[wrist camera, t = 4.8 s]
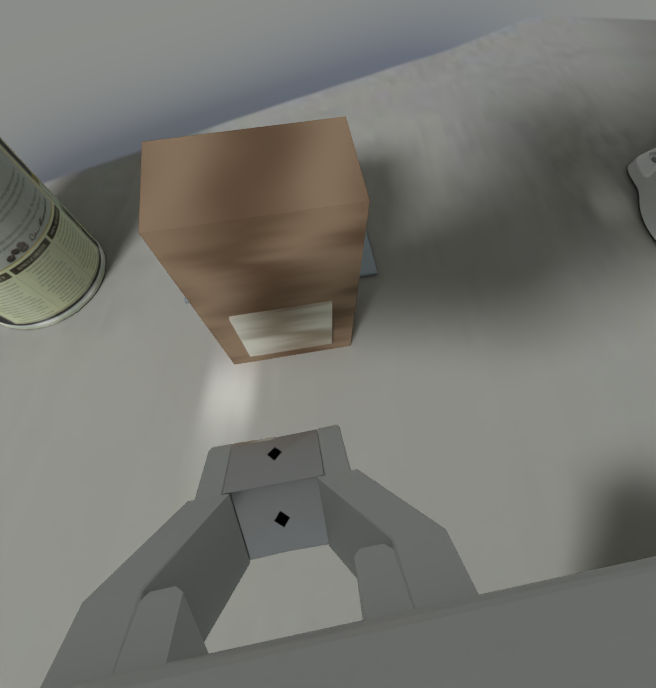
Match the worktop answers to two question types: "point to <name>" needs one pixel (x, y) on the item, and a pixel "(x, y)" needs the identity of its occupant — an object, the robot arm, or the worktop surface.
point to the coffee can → (41, 252)
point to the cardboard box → (261, 232)
